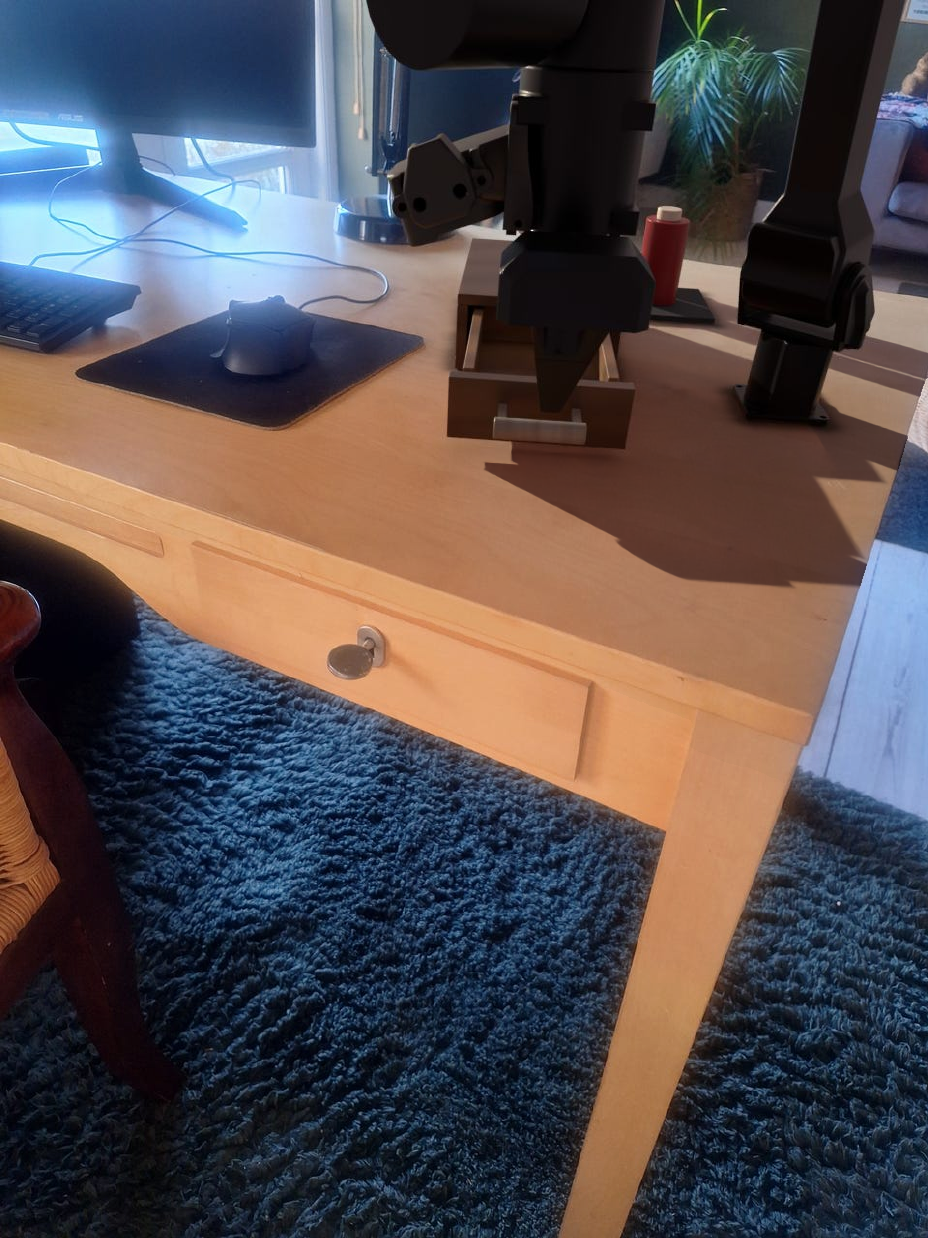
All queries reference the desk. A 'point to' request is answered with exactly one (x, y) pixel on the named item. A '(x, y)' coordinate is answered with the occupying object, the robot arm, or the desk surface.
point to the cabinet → (485, 291)
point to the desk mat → (685, 309)
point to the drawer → (532, 393)
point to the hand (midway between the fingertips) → (549, 410)
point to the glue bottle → (665, 251)
